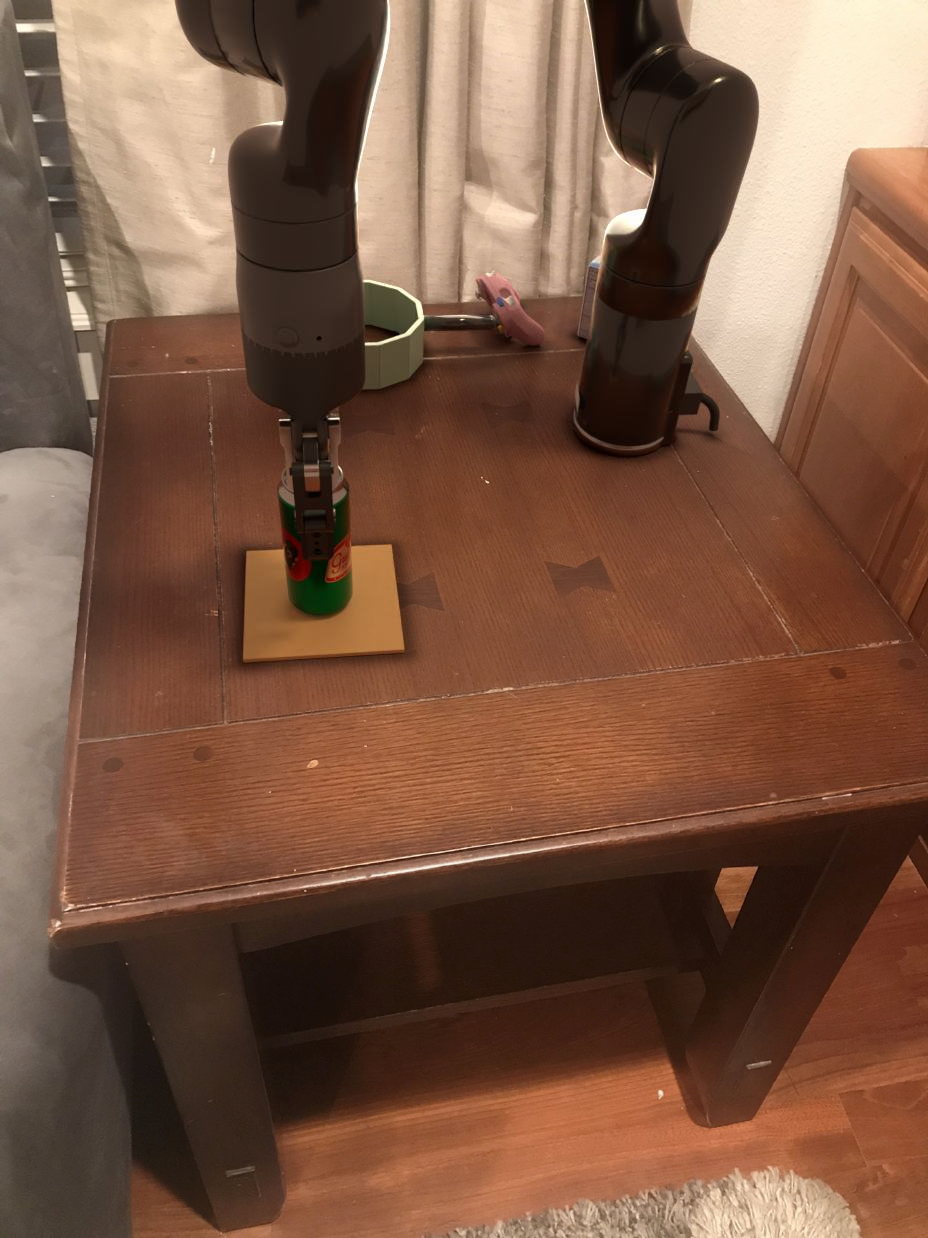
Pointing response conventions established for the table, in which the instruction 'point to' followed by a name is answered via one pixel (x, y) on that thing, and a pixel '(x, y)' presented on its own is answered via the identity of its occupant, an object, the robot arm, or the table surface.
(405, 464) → the table surface
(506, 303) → the video game controller
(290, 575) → the soda can
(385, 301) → the pan
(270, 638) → the cork mat
